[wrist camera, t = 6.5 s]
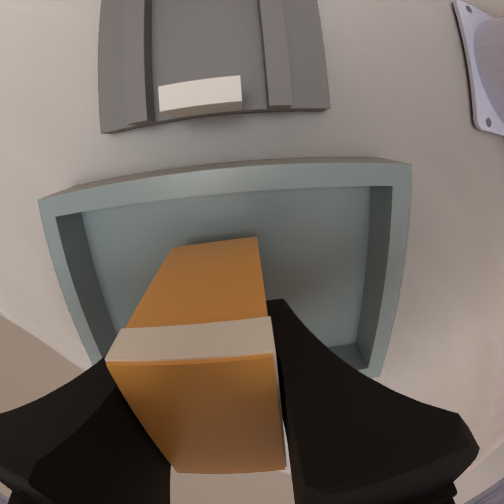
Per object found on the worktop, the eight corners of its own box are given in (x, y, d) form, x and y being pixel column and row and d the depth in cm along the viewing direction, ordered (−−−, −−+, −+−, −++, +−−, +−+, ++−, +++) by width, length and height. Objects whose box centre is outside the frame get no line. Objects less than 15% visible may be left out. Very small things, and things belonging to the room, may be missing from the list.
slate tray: (378, 157, 11) (411, 164, 9) (362, 342, 15) (379, 376, 12) (72, 186, 11) (37, 199, 9) (121, 357, 15) (106, 390, 12)
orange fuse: (258, 234, 10) (276, 354, 4) (270, 340, 12) (287, 469, 6) (170, 246, 10) (102, 362, 4) (197, 347, 12) (176, 473, 6)
